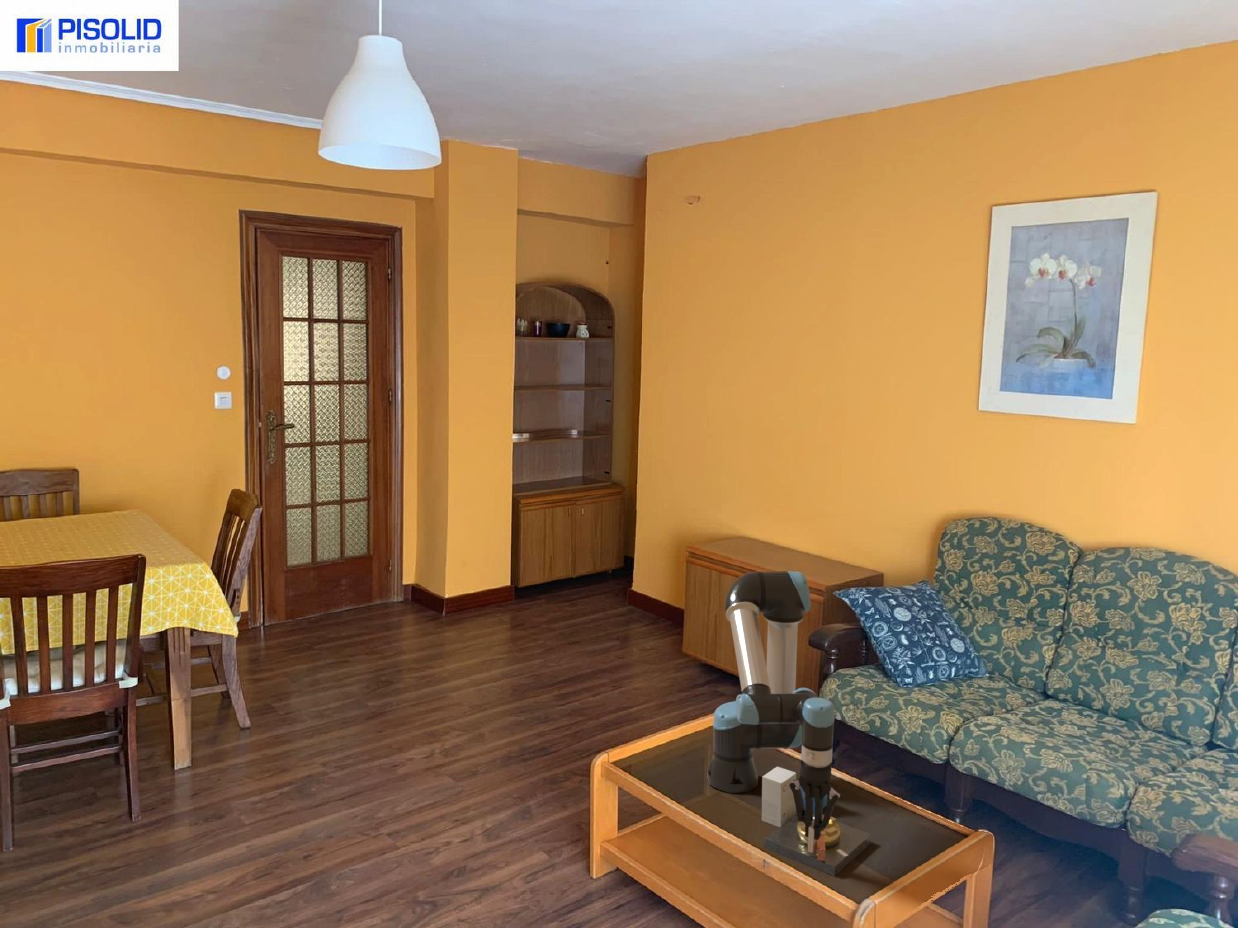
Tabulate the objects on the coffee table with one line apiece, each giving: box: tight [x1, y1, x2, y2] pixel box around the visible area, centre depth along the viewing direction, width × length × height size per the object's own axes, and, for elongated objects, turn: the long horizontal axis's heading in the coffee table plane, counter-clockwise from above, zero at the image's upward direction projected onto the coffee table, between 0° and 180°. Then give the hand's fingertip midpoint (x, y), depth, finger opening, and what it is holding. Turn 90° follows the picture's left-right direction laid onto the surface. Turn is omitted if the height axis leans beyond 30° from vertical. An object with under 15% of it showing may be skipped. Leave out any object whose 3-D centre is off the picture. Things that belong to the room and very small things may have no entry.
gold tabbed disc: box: [797, 816, 840, 861], centre depth 240 cm, size 18×11×4 cm, turn 171°
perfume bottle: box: [800, 787, 828, 813], centre depth 263 cm, size 6×6×12 cm
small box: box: [761, 766, 797, 828], centre depth 256 cm, size 8×6×13 cm
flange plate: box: [764, 813, 872, 877], centre depth 243 cm, size 20×20×8 cm
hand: (811, 849), depth 235 cm, fingers closed
